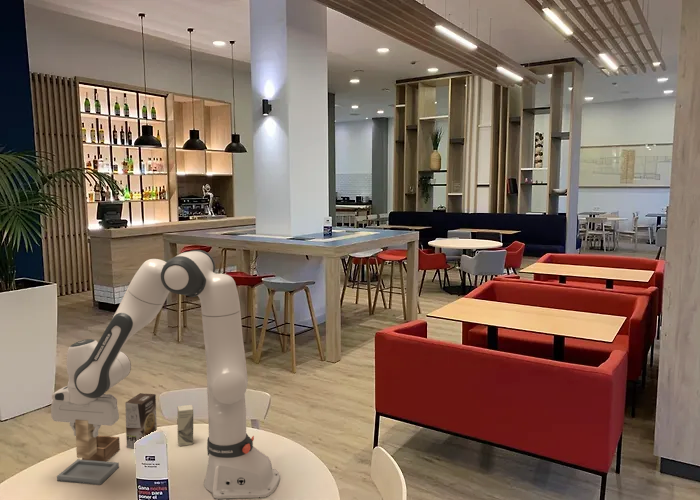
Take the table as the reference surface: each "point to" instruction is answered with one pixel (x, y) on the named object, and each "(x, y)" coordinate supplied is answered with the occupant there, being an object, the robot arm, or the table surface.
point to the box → (185, 425)
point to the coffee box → (140, 417)
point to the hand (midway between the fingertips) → (86, 435)
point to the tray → (88, 472)
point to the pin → (85, 439)
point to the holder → (105, 448)
